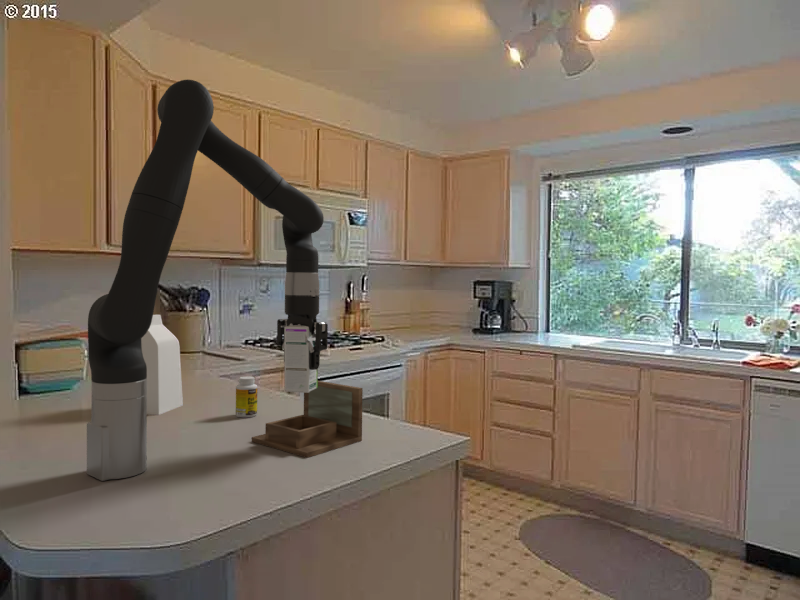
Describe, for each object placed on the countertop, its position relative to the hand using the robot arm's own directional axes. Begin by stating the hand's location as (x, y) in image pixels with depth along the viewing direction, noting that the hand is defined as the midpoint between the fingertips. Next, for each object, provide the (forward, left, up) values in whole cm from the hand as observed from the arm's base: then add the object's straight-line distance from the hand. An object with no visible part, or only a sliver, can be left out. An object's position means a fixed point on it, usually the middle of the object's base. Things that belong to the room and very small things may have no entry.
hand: (301, 367), depth 127 cm
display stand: (+2, 0, -17) cm, 17 cm away
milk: (-4, +56, -17) cm, 59 cm away
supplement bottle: (+8, +30, -17) cm, 35 cm away
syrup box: (0, 0, -5) cm, 5 cm away
